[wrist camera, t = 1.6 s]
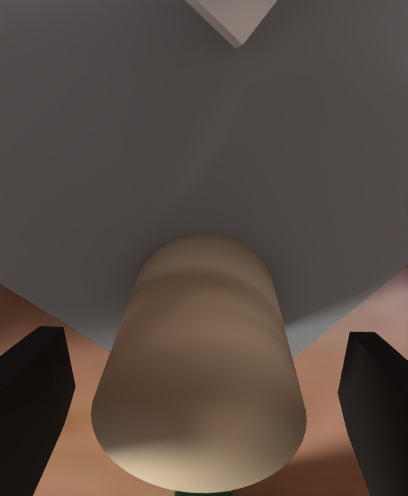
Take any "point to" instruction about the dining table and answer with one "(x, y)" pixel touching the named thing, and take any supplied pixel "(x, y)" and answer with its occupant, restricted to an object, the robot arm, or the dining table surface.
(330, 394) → the dining table surface
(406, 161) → the slate mat
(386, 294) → the dining table surface
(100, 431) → the beech cylinder
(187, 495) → the coffee box
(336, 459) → the dining table surface
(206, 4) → the base block
